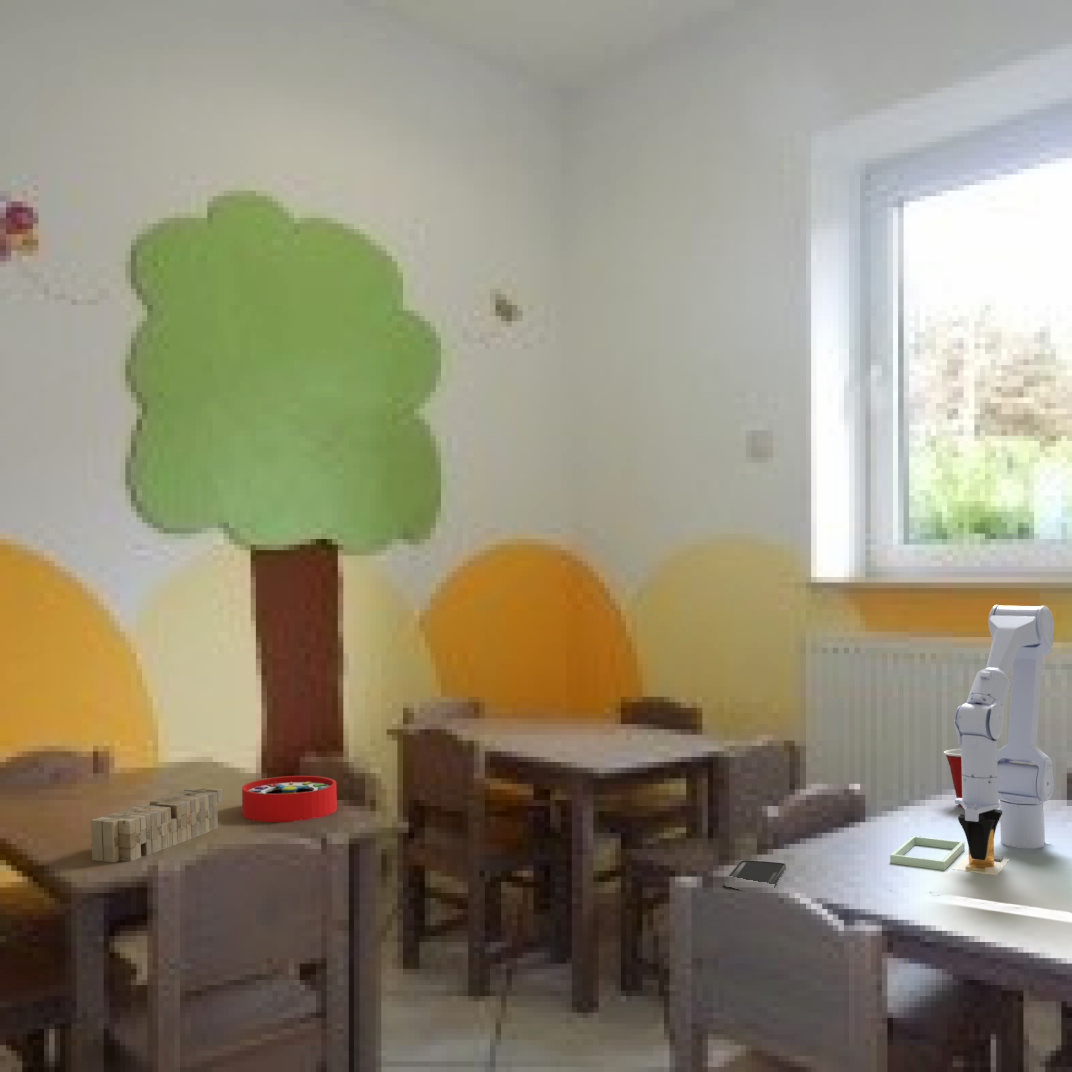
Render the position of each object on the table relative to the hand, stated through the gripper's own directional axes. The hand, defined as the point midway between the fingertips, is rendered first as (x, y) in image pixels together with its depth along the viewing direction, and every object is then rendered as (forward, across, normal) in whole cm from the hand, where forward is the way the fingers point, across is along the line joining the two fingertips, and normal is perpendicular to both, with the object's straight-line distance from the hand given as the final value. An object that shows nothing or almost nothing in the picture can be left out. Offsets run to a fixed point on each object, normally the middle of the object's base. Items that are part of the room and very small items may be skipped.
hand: (981, 855), depth 191 cm
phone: (+3, +22, -32) cm, 39 cm away
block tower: (+3, +56, -140) cm, 151 cm away
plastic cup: (+3, -51, -12) cm, 52 cm away
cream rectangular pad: (+3, 0, 0) cm, 3 cm away
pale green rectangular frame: (+3, -1, -9) cm, 9 cm away
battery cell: (+1, 0, 0) cm, 1 cm away
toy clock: (+3, +24, -137) cm, 139 cm away
